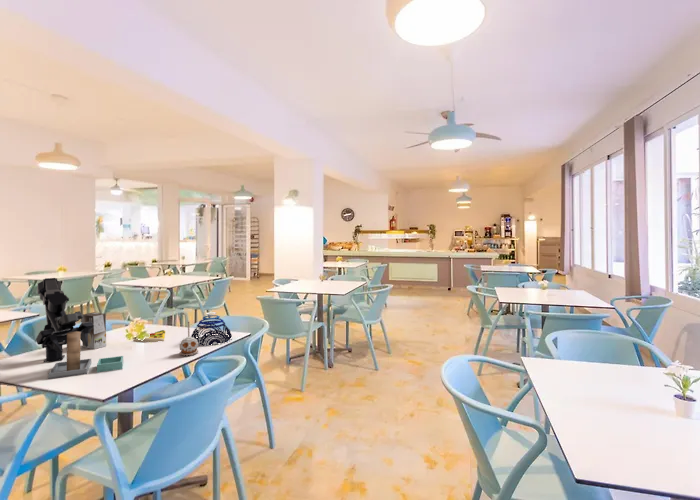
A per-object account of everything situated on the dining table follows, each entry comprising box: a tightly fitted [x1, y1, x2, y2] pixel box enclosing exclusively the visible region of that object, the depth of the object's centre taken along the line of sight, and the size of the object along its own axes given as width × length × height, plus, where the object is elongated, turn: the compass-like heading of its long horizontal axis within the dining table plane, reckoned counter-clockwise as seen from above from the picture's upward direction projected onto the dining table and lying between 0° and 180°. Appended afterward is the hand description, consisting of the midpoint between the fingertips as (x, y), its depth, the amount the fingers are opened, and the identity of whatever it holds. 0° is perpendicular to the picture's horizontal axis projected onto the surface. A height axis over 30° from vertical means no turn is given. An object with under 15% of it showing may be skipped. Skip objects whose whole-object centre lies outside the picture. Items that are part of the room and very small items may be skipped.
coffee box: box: [81, 311, 107, 350], centre depth 186 cm, size 9×6×16 cm
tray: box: [47, 358, 93, 380], centre depth 154 cm, size 14×12×2 cm
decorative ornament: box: [179, 321, 199, 357], centre depth 175 cm, size 8×8×15 cm
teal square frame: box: [96, 355, 124, 373], centre depth 158 cm, size 9×9×3 cm
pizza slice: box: [132, 329, 166, 343], centre depth 205 cm, size 16×21×3 cm
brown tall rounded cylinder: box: [66, 332, 81, 371], centre depth 152 cm, size 4×4×15 cm
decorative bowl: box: [190, 311, 233, 346], centre depth 198 cm, size 20×20×14 cm
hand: (74, 349), depth 151 cm, fingers open, 9 cm apart
